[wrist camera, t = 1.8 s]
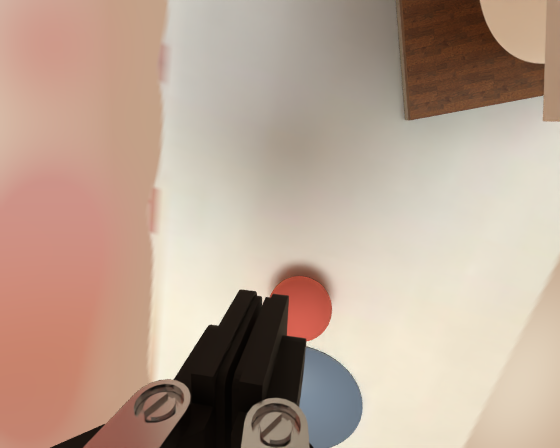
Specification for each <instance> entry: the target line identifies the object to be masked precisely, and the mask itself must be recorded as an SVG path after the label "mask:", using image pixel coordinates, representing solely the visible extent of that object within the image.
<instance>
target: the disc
mask: <svg viewBox="0 0 560 448" xmlns="http://www.w3.org/2000/svg"><path fill="white" fill-rule="evenodd" d="M299 408H300V409H301V410H302V411H303V413H304V415H305V416H306V419H307V424H308V433H309V443H310V444H311V445H312V446H313V447H314V448H330V447H333V446H335V445H338V444H339V443H341V442H343V441H344V440H345V439H347V438H348V437H349V436H350V435H351V434H352V433H353V432H354V430H355V429H356V428H357V426H358V424H359V422H360V419H361V415H362V397H361V393H360V390H359V388H358V385H357V383H356V382H355V380H354V378H353V377H352V375H351V374H350V373H349V372H348V371H347V369H345V368H344V367H343V366H342V365H341V364H340V363H339V362H337V361H336V360H335V359H333V358H332V357H330V356H328V355H327V354H325V353H322V352H320V351H318V350H315V349H312V348H309V347H306V352H305V364H304V373H303V382H302V390H301V397H300V405H299Z"/></svg>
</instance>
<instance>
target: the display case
mask: <svg viewBox="0 0 560 448" xmlns="http://www.w3.org/2000/svg"><path fill="white" fill-rule="evenodd" d="M396 9H397V22H398V34H399V47H400V60H401V73H402V85H403V98H404V111H405V120H414V119H420V118H425V117H430V116H436V115H441V114H447V113H452V112H457V111H463V110H468V109H473V108H479V107H484V106H489V105H495V104H500V103H505V102H511V101H516V100H522V99H527V98H532V97H538V96H543V95H544V104H543V121H560V0H396Z"/></svg>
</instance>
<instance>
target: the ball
mask: <svg viewBox="0 0 560 448" xmlns="http://www.w3.org/2000/svg"><path fill="white" fill-rule="evenodd" d="M272 294H280V295H288V296H289V307H288V324H287V336H293V337H300V338H306V341H310V340H313V339H315V338H317V337H318V336H319V335H321V334H322V333H323V332H324V330H325V329H326V328H327V326H328V324H329V322H330V319H331V314H332V306H331V300H330V297H329V295H328V293H327V291H326V290H325V289H324V287H323V286H322V285H321V284H320V283H318V282H317V281H315V280H313V279H311V278H308V277H304V276H295V277H290V278H287V279H285V280H284V281H282V282H280V283H279V284H278V285H277V286H276V287H275V289H274V290H273V292H272V293H271V296H272ZM271 296H270V298H271Z"/></svg>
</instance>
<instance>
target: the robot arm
mask: <svg viewBox="0 0 560 448" xmlns="http://www.w3.org/2000/svg"><path fill="white" fill-rule="evenodd" d="M288 307H289V296H288V295H280V294H272V296H271V298H269V297H266V298H265V300H264V303H263V305H262V297H261V296H257V292H256V291H248V290H239V292H238V293H237V295H236V297H235V299H234V300H233V302H232V304H231V305H230V307H229V309H228V310H227V312H226V314H225V316H224V317H223V319H222V321H221V322H220V324H219V326H216V325H209V326H208V327H207V328H206V330H205V331H204V333H203V335H202V336H201V338H200V339H199V341H198V342H197V344H196V346H195V347H194V349H193V350H192V352H191V353H190V355H189V357H188V358H187V360H186V361H185V363H184V364H183V366H182V367H181V369H180V371H179V372H178V374H177V375H176V377H175V378H174V380H171V379H166V380H158V381H155V382H152V383H149V384H148V385H146V386H144V387H142V388H141V389H140V390H138V391H137V392H136V393H135V394H134V395H133V396H132V397H131V398H130V399H129V400H128V401H127V402H126V403H125V404H124V405H123V406H122V407H121V408H120V409H119V411H118V412H117V413H116V414H115V415H114V416H113V417H112V418H111V419H110V420H109V421H108V422H107V423H106V424H103V425H101V426H99V427H97V428H94V429H92V430H90V431H88V432H85V433H83V434H81V435H78V436H76V437H74V438H71V439H69V440H67V441H65V442H62V443H60V444H58V445H55V446H53V447H51V448H314V447H313V446H312V445H311V444H310V443H309V433H308V424H307V419H306V416H305V415H304V413H303V411H302V410H301V409H300V408H299V405H300V397H301V390H302V382H303V373H304V364H305V352H306V338H300V337H293V336H287V324H288Z"/></svg>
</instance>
